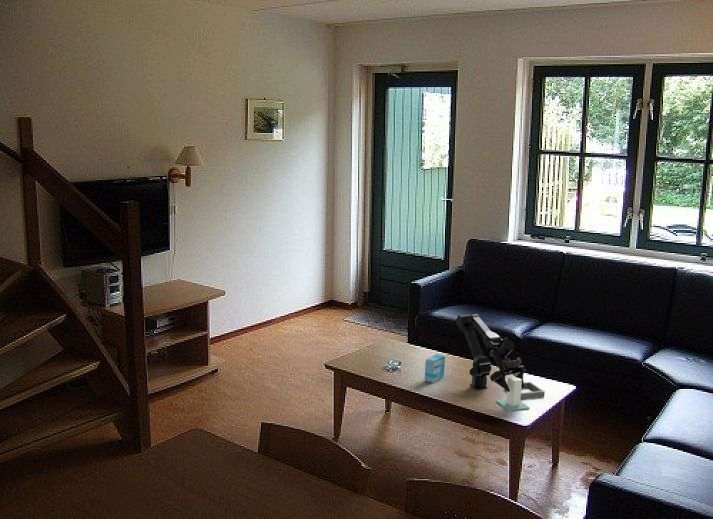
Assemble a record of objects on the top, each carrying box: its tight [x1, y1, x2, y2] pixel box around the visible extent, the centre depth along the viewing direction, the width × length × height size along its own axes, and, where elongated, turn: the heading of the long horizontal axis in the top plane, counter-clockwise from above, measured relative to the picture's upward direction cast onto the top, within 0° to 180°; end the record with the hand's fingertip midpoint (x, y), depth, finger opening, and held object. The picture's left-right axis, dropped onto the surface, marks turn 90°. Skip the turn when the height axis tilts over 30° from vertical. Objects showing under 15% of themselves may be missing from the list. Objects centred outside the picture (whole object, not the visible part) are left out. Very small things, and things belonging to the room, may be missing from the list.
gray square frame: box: [507, 381, 546, 400], centre depth 343 cm, size 14×13×2 cm
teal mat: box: [496, 399, 530, 412], centre depth 327 cm, size 11×11×1 cm
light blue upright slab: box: [424, 354, 446, 384], centre depth 355 cm, size 12×4×12 cm, turn 142°
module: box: [505, 376, 522, 406], centre depth 325 cm, size 4×4×12 cm
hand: (516, 389), depth 324 cm, fingers open, 9 cm apart
